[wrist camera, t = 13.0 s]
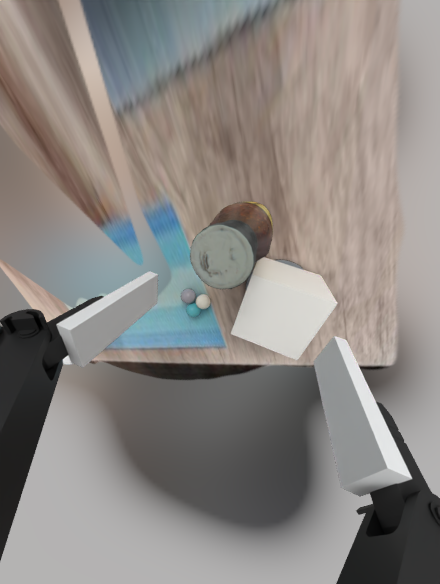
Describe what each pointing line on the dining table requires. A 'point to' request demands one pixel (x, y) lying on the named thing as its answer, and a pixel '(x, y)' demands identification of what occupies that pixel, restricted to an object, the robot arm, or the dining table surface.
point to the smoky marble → (188, 296)
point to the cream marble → (203, 301)
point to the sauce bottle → (232, 245)
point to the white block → (283, 308)
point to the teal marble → (193, 310)
